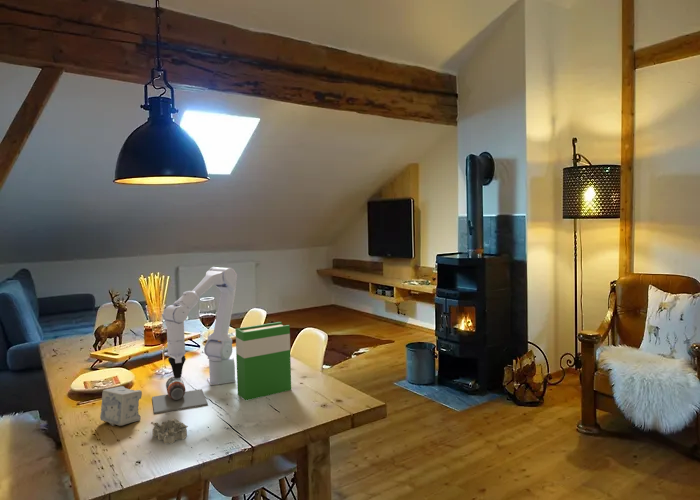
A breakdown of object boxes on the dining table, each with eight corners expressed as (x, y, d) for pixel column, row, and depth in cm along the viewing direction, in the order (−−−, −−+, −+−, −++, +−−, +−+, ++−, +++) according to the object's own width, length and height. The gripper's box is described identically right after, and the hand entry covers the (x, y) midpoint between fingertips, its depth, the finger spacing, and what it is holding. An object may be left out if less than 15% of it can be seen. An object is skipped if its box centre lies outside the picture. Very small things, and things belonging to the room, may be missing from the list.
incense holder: (143, 419, 159) (142, 387, 158) (121, 429, 151) (119, 396, 150) (122, 413, 163) (121, 382, 162) (99, 423, 156) (98, 391, 155)
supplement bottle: (179, 393, 181) (182, 404, 171) (163, 389, 179) (165, 400, 169) (185, 377, 182) (188, 388, 171) (169, 373, 179) (171, 383, 169)
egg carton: (149, 435, 148) (149, 421, 147) (174, 427, 153) (173, 414, 153) (165, 446, 140) (164, 432, 140) (190, 438, 145) (189, 424, 145)
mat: (202, 390, 183) (201, 389, 183) (207, 405, 169) (207, 403, 169) (152, 398, 176) (152, 396, 176) (154, 414, 162) (154, 412, 162)
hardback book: (282, 384, 188) (280, 321, 186) (291, 389, 182) (289, 325, 180) (237, 394, 179) (235, 328, 177) (245, 400, 173) (243, 332, 171)
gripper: (162, 336, 179) (164, 373, 180) (165, 346, 166) (166, 385, 167) (183, 334, 182) (184, 370, 183) (187, 343, 169) (188, 382, 170)
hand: (177, 377), depth 175 cm, fingers closed
